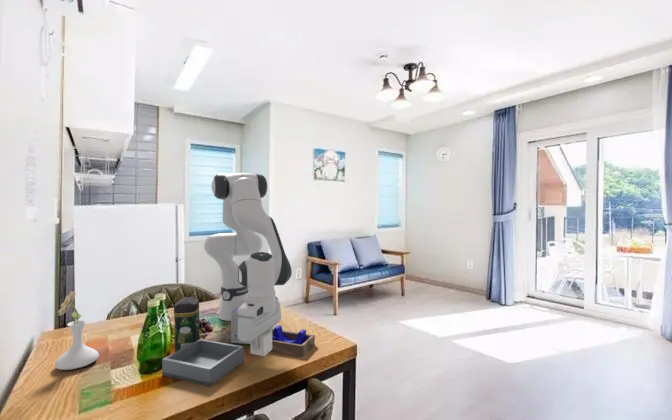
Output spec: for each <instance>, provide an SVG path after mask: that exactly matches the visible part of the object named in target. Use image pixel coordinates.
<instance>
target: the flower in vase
mask: <svg viewBox="0 0 672 420" xmlns="http://www.w3.org/2000/svg"><path fill="white" fill-rule="evenodd" d="M75 297H76V291H75V290H73V291H72V290H71V291H70V293H69V294H68V295H67V294H66V296H65V298H64V301H63V302H62V303H61V304H60V307H61V308H59V310H58V311H57V314H58V316H63V315H64V314H65V313H66V312H67V311H68V310H69V308H70V307H71V306H72V309H74V310H73V311H72V313H71V315H70V316H71V317H72V319H74V320H73V321H70V322H68V323H67V327H68V328H70V330H71V334H72V344H71V347H70V348H68V349H67V350H66V351H65V352H63V354H62V355H61V356H59V357H58V358H57V360H55V362H54V367H55V368H56V369H57V370H61V371H62V370H63V371H64V370H66V371H67V370H75V369H79V368H83V367H85V366H88V365H91V364H92V363H93V362H95V361H97V360H98V359H99V357H100V354H99V351H98V350H96V349H94V348H92V347H90V346H87V345H85V344H84V343H83V340H82V338H83V337H82V335H83V334H82V333H83V329H84V326H85V325H86V323H88V322H87V319H86V320H85V319H81V317H82V315H81V314H80V313H79V312H78V310H77V308H76V307H75V305H74V304H73V302H74V299H75Z"/></svg>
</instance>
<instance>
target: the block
mask: <svg viewBox="0 0 672 420" xmlns="http://www.w3.org/2000/svg"><path fill="white" fill-rule="evenodd" d="M257 342H258V343H260V345H259V346H260V348H259V349H258V350H253V349H252V343H251V344H250V354H251V355H256V356H261V357H266V356H267V355H268V354H269V353H270V352H272V351H271V350H272V332H271V331H266V332H264V333H263V334H261V335H260V336H258V340H257Z"/></svg>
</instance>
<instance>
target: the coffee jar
mask: <svg viewBox="0 0 672 420" xmlns="http://www.w3.org/2000/svg"><path fill="white" fill-rule="evenodd" d="M173 316H174V353H175V352H177V351H179V350H180V349H182V348H184V347H186V346H188V345H190V344H192V343H194V342H196V341H197V340H199V339H201V338H200V334H201V333H200V300H199V299H198V298H197V297H195V296H186V297H185V296H184V297H182V298H181V299H179V300H177V302H175V304H174V305H173Z"/></svg>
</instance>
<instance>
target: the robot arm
mask: <svg viewBox="0 0 672 420" xmlns="http://www.w3.org/2000/svg"><path fill="white" fill-rule="evenodd" d="M266 178H267V177H265V175H263V174H259V173H248V172H247V173H246V172H237V173H236V172H233V173H232V172H231V173H218V174H215V176H214V177H213V179H212V182H211V191H212V193H213V197H215V198H216V199H218V200H222V219H221V220H222V223H223V225H224V226H225V227H227V228H228V229H230V230H232V231H233V230H234V232H221V233H220V232H219V233H215V234H210V235H209V236H207V237H206V239H205V241H204V245H203V246H204V247H203V248H204V251H205V252H206V254H207V255H208V256H209V257H210V258H212V259H214V261H215V262H216V263H217V265H218V266H219V269H220V273H221V275H220V276H221V286H220V295H221V296H220V297H219V304H218V305H219V306H218V311H217V317H218V319H220V320H222V321H229V322H231V311H232V310H234V309H236V308H238V307H240V308H239V309H238V315H239V316H240V317H239V320H238V339H239V341H240V342H244V343H250V342H251V343H252V349H253V350H258V349H259V348H260V346H259V345H260V343H258V342H257V340H258V336H260V335H261V334H263V333H264V332H266V331H271V332H272V329H273V328H274V326H276V325H278V324H279V323H280V322H281V319H282V310H281V304H280V302H279V298H278V297H277V296H276V290H275V286H284V285H286V284H287V283H288V281H290V279H291V277H292V272H293V271H292V267H291V262H290V260H289V259H288V257H287V254H286V251H285V249H284V245H283V243H282V240H281V237H280V233H279V230H278V228H277V226H276V223H275V221H274V218H273V217H271V216H269V215H268V214H267V213H266V211H265V210H264V207H263V204H262V198H264V197H265V196H266V195H267V192H268V181H267V179H266ZM261 236H263V237H264V239H265V240H266V241H267V244H268V247H269V250H270V252H265V251H264V252H263V251H261V250H262V247H263V240H262V237H261ZM244 256H245V257H246V256H249V257H248V259H246V260H243V261H242V262H241V263H238V262H235V260H233V258H234V257H244ZM243 302H244V303H243Z"/></svg>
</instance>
